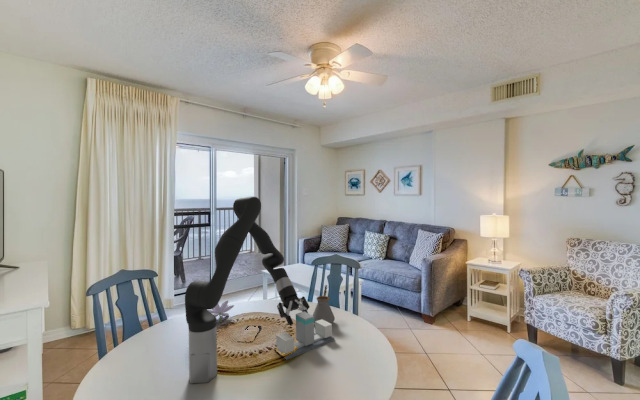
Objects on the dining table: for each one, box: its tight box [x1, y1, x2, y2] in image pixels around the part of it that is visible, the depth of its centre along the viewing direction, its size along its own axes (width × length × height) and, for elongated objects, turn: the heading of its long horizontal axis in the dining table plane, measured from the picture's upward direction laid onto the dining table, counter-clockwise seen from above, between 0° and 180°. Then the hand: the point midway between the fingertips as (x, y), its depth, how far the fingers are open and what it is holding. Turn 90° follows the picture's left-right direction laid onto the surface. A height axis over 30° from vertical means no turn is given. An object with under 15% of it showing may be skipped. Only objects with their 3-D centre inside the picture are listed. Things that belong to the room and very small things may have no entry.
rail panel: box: [275, 319, 336, 361], centre depth 125 cm, size 25×9×7 cm, turn 129°
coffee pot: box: [312, 284, 335, 325], centre depth 151 cm, size 21×12×15 cm, turn 172°
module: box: [295, 311, 315, 346], centre depth 125 cm, size 5×7×11 cm, turn 38°
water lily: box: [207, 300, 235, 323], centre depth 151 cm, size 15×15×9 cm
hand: (300, 322), depth 128 cm, fingers open, 8 cm apart
